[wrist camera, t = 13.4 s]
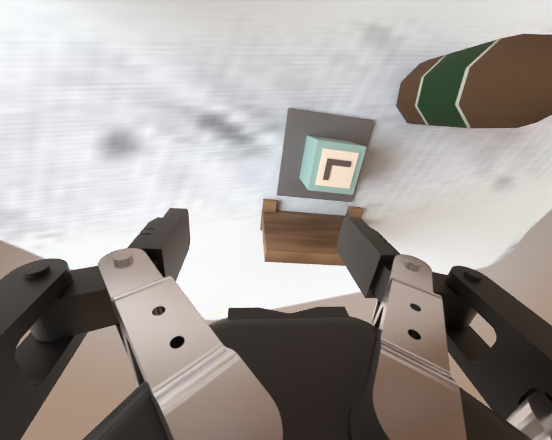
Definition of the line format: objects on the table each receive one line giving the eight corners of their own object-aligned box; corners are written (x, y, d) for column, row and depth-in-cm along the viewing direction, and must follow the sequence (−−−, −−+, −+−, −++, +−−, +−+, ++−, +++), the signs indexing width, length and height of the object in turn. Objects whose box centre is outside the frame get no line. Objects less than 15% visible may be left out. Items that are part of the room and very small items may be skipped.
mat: (288, 108, 31) (288, 108, 30) (372, 120, 32) (374, 120, 32) (276, 194, 36) (277, 195, 35) (350, 200, 37) (351, 201, 37)
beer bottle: (383, 111, 32) (658, 111, 10) (416, 48, 29) (897, -137, 7) (425, 134, 34) (735, 174, 12) (461, 77, 31) (950, -5, 9)
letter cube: (306, 135, 32) (318, 140, 26) (347, 140, 32) (368, 147, 27) (299, 177, 34) (308, 190, 28) (337, 182, 35) (354, 195, 29)
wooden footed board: (263, 198, 36) (267, 236, 25) (360, 207, 38) (403, 245, 27) (260, 227, 38) (263, 273, 27) (352, 233, 40) (388, 279, 29)
